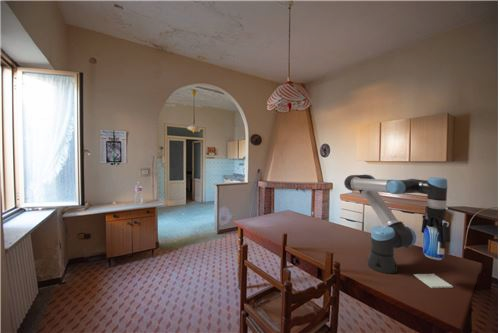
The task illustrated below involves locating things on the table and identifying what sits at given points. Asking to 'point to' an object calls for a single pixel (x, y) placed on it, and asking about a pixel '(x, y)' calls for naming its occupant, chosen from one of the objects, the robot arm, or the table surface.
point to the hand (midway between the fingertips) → (434, 250)
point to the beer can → (431, 243)
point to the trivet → (433, 281)
